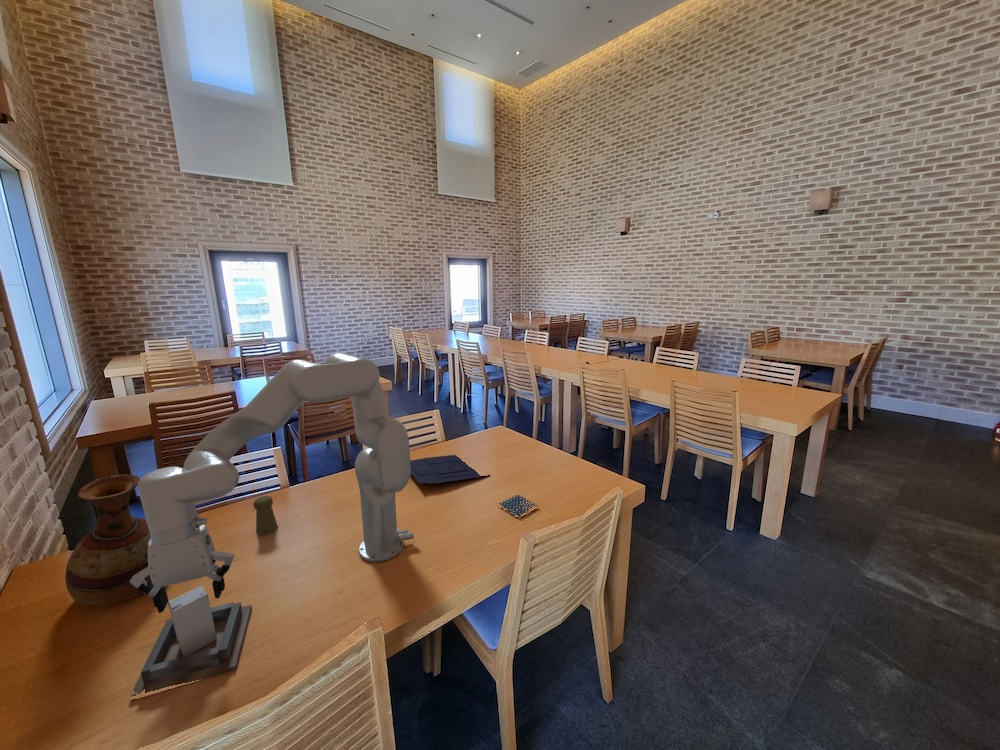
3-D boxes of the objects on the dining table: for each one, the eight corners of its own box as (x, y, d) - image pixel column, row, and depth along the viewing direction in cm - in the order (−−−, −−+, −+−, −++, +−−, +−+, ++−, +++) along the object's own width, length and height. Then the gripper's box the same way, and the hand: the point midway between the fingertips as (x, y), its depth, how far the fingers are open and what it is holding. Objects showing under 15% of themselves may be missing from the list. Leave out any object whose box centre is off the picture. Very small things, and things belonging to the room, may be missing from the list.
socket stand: (251, 608, 96) (249, 594, 95) (235, 670, 81) (233, 654, 80) (165, 629, 90) (161, 615, 89) (130, 701, 75) (125, 684, 74)
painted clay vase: (86, 629, 90) (53, 511, 83) (61, 593, 100) (30, 485, 94) (188, 577, 106) (168, 474, 99) (157, 550, 117) (137, 455, 110)
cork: (268, 536, 123) (263, 504, 121) (251, 533, 125) (246, 502, 122) (282, 524, 129) (278, 494, 127) (266, 522, 130) (261, 492, 128)
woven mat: (518, 521, 133) (518, 516, 132) (497, 508, 140) (497, 503, 140) (539, 510, 140) (539, 504, 139) (518, 498, 147) (518, 493, 147)
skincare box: (211, 629, 89) (202, 583, 86) (218, 640, 86) (209, 593, 84) (177, 648, 85) (166, 600, 82) (183, 660, 82) (172, 611, 79)
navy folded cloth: (400, 466, 168) (401, 458, 167) (464, 459, 183) (465, 452, 183) (420, 492, 147) (421, 483, 147) (490, 482, 163) (491, 473, 162)
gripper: (230, 509, 86) (243, 576, 90) (129, 528, 79) (148, 599, 83) (221, 529, 79) (236, 601, 83) (109, 551, 73) (131, 628, 77)
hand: (192, 600), depth 83 cm, fingers open, 9 cm apart
